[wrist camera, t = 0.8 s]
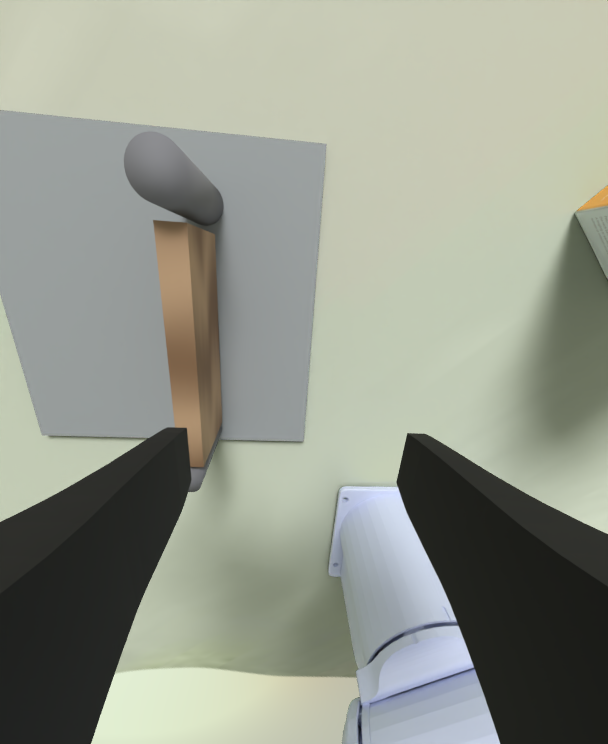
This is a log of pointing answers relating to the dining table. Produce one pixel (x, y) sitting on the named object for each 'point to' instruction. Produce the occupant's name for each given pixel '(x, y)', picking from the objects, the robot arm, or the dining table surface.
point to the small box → (596, 226)
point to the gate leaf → (191, 331)
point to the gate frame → (155, 270)
